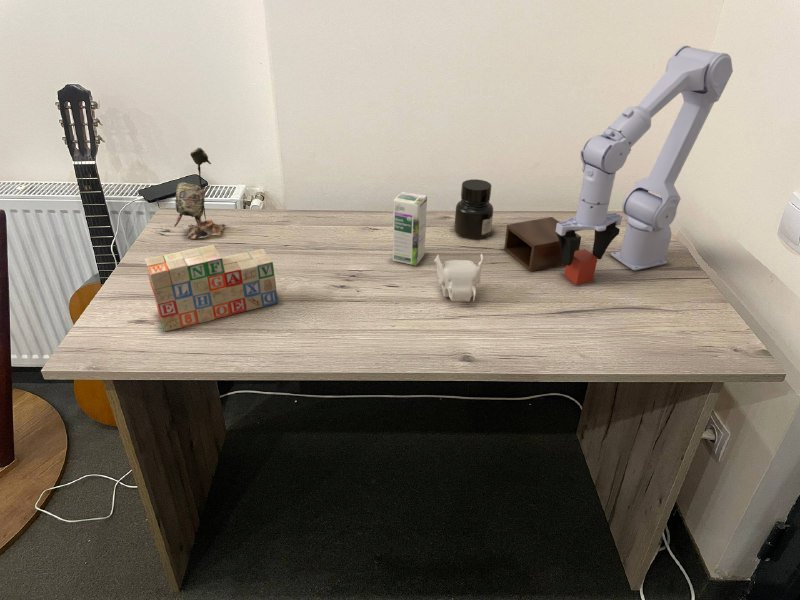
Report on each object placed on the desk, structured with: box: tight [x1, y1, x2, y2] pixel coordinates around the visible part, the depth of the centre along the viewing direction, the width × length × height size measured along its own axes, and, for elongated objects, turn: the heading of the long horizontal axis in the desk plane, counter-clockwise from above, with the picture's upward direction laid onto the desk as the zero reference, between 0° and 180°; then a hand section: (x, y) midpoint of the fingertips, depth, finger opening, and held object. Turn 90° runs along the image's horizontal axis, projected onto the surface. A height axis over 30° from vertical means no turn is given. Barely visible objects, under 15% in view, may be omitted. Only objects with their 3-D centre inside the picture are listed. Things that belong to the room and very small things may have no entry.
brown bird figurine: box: [173, 147, 227, 240], centre depth 137 cm, size 8×11×20 cm
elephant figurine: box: [433, 253, 484, 302], centre depth 118 cm, size 10×12×9 cm
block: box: [563, 248, 598, 286], centre depth 125 cm, size 4×4×6 cm
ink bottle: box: [453, 178, 494, 240], centre depth 142 cm, size 10×9×12 cm
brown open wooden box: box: [503, 216, 582, 272], centre depth 133 cm, size 12×11×6 cm
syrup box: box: [392, 191, 428, 266], centre depth 129 cm, size 6×6×14 cm
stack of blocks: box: [144, 244, 279, 332], centre depth 111 cm, size 21×6×12 cm, turn 117°
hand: (581, 260), depth 124 cm, fingers open, 7 cm apart
